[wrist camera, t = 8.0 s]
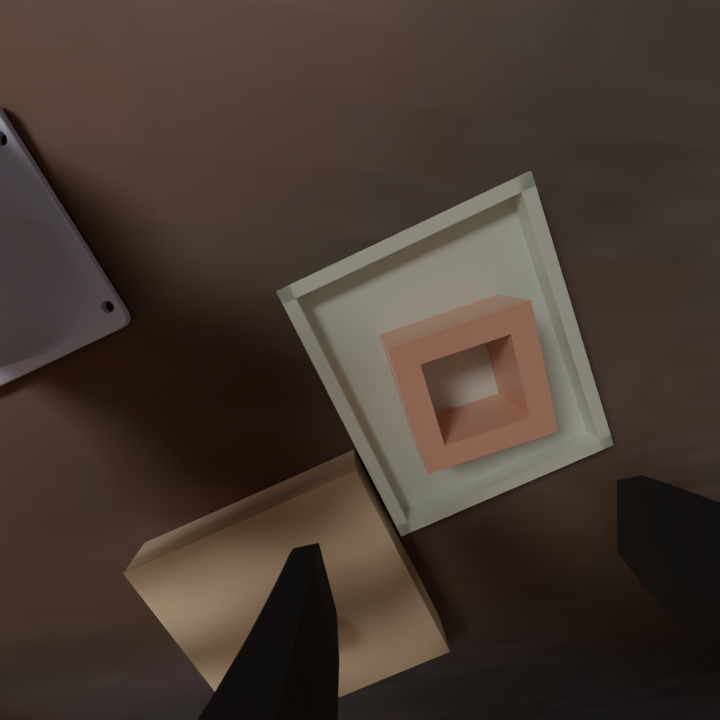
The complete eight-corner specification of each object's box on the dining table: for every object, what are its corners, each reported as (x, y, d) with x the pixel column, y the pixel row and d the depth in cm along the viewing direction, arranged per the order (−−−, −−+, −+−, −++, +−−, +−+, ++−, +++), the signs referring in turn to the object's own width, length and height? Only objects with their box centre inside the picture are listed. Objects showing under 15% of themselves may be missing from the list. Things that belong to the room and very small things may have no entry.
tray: (281, 289, 17) (276, 291, 15) (513, 179, 16) (531, 170, 15) (396, 516, 20) (401, 536, 18) (593, 431, 19) (613, 445, 18)
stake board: (144, 542, 19) (88, 623, 15) (353, 449, 19) (358, 505, 14) (256, 693, 22) (236, 797, 18) (439, 617, 22) (465, 705, 17)
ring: (413, 441, 18) (427, 474, 15) (378, 334, 17) (387, 348, 14) (522, 405, 18) (558, 431, 15) (497, 294, 17) (531, 300, 14)
